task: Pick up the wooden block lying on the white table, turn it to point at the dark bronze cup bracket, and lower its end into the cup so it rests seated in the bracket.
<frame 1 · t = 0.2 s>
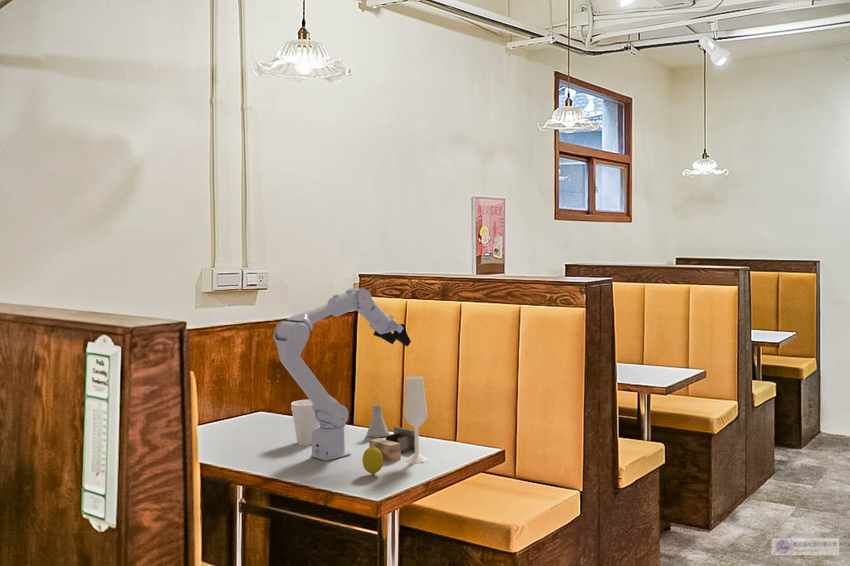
hand: (401, 342, 249), 31 cm above the table, tool tilted 45°, fingers open, 7 cm apart
lemon: (373, 475, 211), on the table
champagne flute: (417, 460, 225), on the table
foam cup: (307, 443, 249), on the table
flask: (377, 436, 256), on the table
bracket: (398, 450, 237), on the table
wooden block: (385, 457, 229), on the table
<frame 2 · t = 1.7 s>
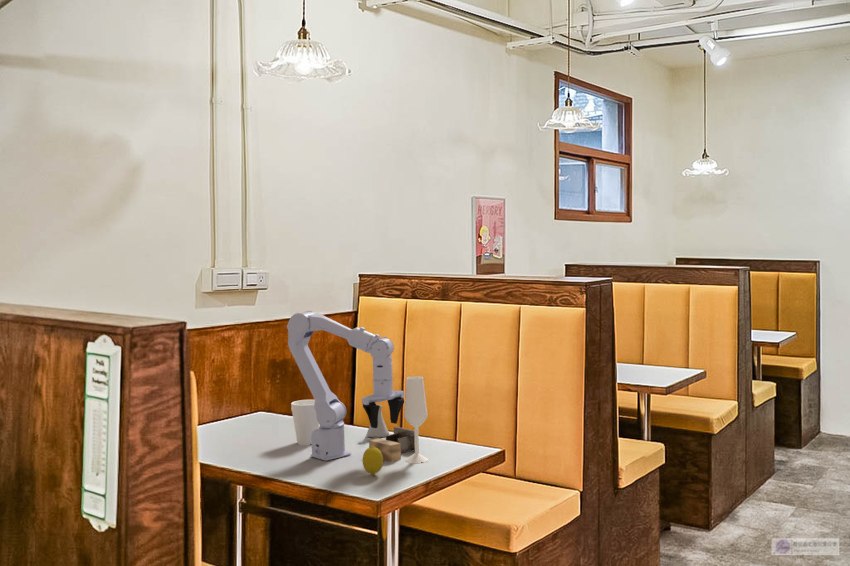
hand: (384, 425, 228), 9 cm above the table, tool pointing down, fingers open, 7 cm apart
nothing on the table moved.
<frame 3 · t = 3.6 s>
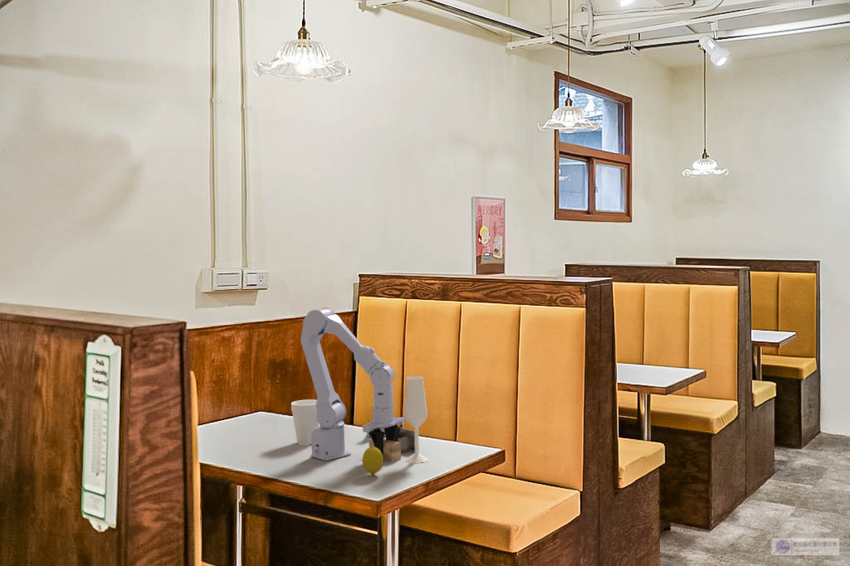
hand: (384, 452, 229), 1 cm above the table, tool pointing down, fingers closed on wooden block, 4 cm apart
wooden block: (385, 457, 229), on the table, touching gripper
everything else where it was.
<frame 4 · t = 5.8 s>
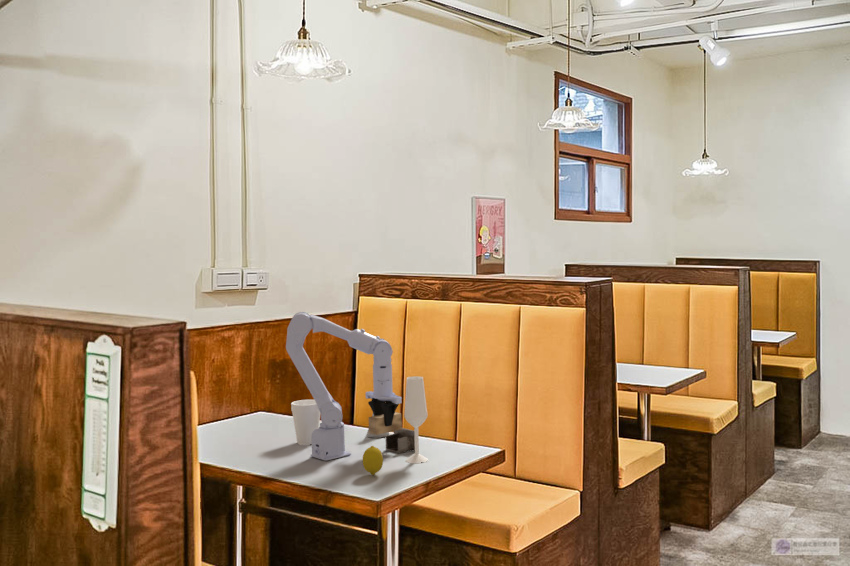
hand: (384, 424, 234), 8 cm above the table, tool pointing down, fingers closed on wooden block, 3 cm apart
wooden block: (385, 431, 235), point 6 cm above the table, touching gripper
everything else where it was.
when the fingers open (3 cm above the table, at t = 8.4 s): wooden block stays where it is, resting on bracket.
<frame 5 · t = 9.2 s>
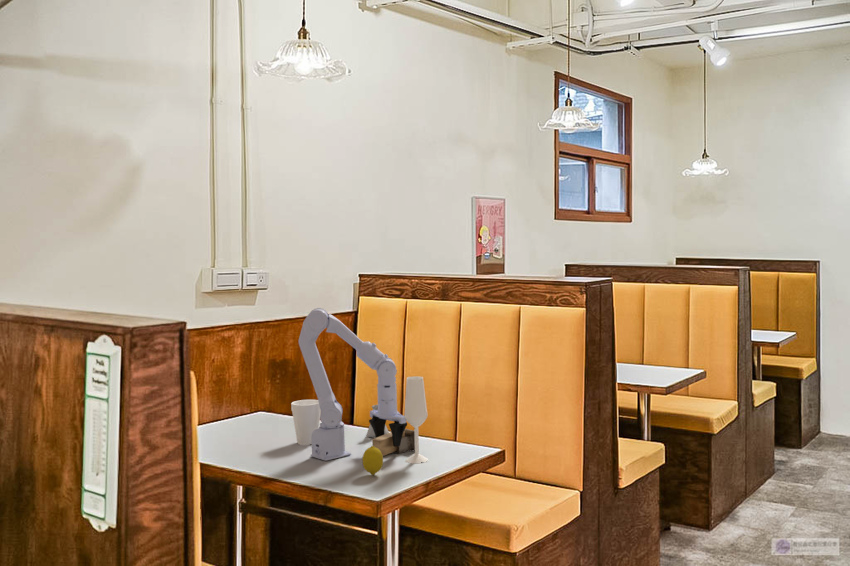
hand: (388, 443, 234), 3 cm above the table, tool pointing down, fingers open, 7 cm apart
wooden block: (390, 450, 234), point 1 cm above the table, tilted 6°, touching bracket
everything else where it was.
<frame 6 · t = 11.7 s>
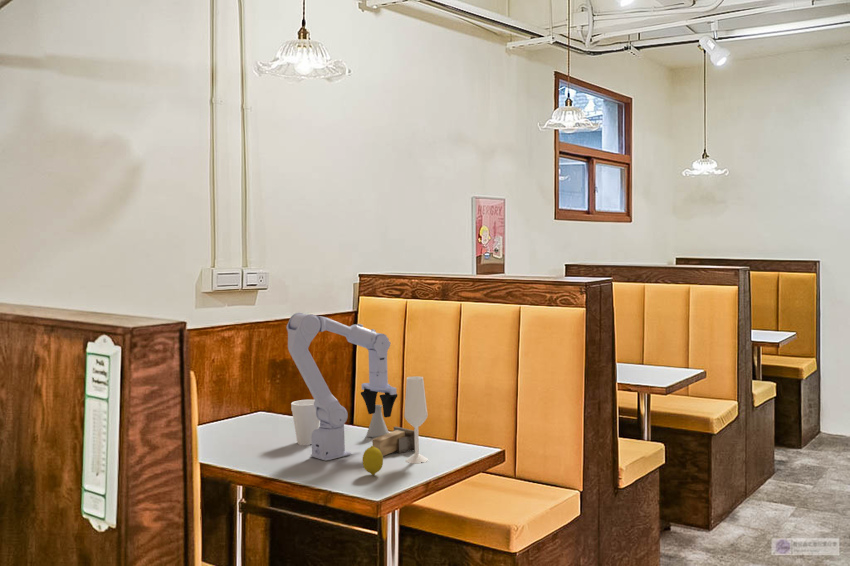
hand: (379, 415, 241), 10 cm above the table, tool pointing down, fingers open, 7 cm apart
nothing on the table moved.
at the end: wooden block 1.4 cm from the target spot on the table beside the bracket, point 0.5 cm above the table; wooden block tilted 6°; the gripper is holding nothing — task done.
